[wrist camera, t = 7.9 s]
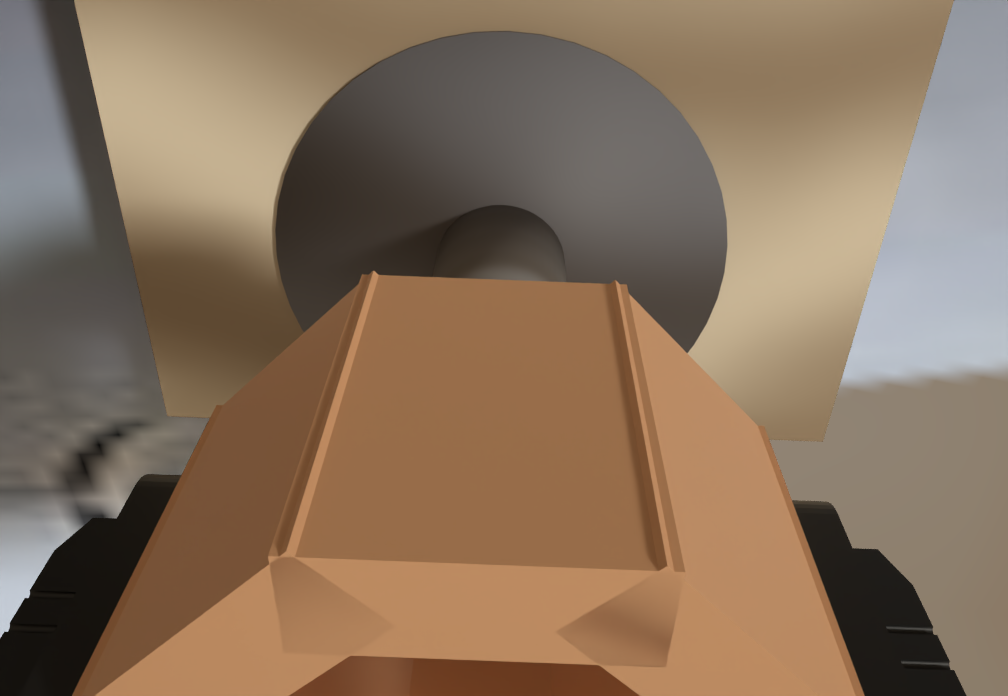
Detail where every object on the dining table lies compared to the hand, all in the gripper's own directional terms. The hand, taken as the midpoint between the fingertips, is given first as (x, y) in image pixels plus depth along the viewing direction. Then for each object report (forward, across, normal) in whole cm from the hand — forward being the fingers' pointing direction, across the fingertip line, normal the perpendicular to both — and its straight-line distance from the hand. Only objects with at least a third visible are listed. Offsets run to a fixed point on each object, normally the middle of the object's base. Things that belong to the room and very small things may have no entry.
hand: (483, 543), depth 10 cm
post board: (+9, 0, -4) cm, 10 cm away
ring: (+1, 0, 0) cm, 1 cm away
